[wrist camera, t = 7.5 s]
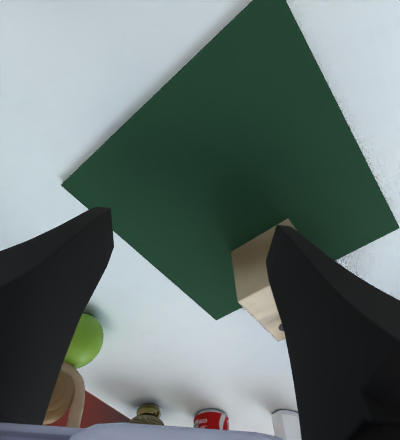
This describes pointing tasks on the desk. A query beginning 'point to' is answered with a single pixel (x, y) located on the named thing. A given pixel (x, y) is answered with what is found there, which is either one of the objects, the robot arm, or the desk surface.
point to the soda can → (211, 420)
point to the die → (257, 281)
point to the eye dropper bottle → (286, 425)
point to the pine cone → (147, 415)
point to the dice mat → (235, 160)
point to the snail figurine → (75, 372)
